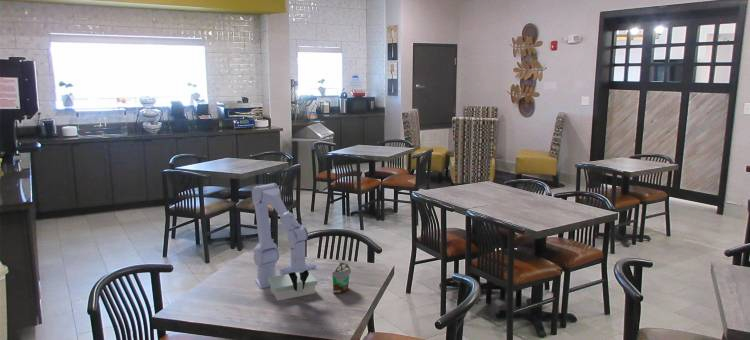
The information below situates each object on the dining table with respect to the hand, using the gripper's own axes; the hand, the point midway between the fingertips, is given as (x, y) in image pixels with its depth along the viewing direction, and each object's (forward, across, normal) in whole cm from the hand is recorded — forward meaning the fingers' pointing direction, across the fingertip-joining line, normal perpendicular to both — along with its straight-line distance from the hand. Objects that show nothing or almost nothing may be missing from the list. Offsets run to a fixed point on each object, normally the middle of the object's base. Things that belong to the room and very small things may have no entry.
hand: (298, 289), depth 214 cm
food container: (+5, +20, +1) cm, 21 cm away
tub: (+5, 0, +8) cm, 9 cm away
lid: (+1, 0, +6) cm, 6 cm away
